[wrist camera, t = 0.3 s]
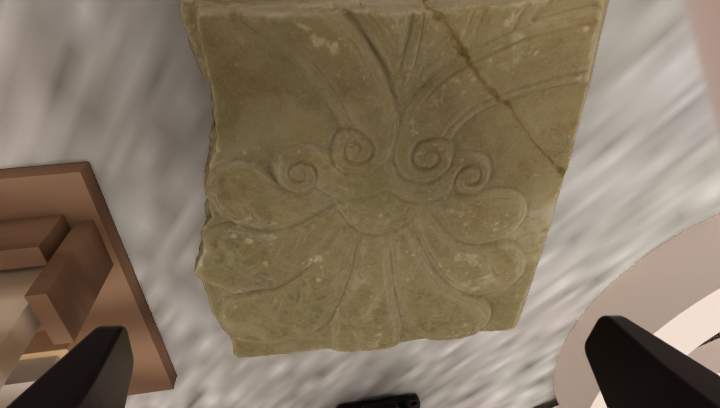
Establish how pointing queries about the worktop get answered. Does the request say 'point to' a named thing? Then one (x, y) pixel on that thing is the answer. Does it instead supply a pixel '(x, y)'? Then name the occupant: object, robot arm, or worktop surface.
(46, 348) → the oak offcut
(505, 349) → the worktop surface
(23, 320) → the birch sheet
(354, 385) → the worktop surface
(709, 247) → the ring with crossbar
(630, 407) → the robot arm
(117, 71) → the worktop surface
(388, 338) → the decorative tile
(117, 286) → the walnut rack
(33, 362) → the grey offcut
